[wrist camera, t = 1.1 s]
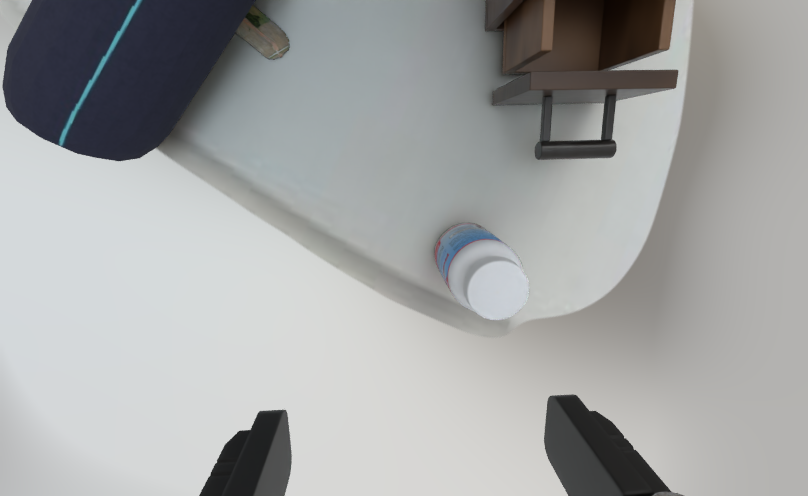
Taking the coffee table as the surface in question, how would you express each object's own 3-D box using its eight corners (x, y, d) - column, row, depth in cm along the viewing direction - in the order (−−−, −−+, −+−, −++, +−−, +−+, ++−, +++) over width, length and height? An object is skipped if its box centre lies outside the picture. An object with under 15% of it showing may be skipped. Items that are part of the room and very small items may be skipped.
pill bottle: (422, 242, 38) (441, 279, 28) (476, 210, 38) (516, 234, 27) (452, 291, 40) (481, 344, 29) (504, 260, 39) (553, 302, 29)
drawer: (599, 156, 37) (667, 157, 28) (490, 159, 36) (526, 161, 27) (622, -85, 32) (711, -170, 23) (497, -86, 31) (543, -174, 23)
